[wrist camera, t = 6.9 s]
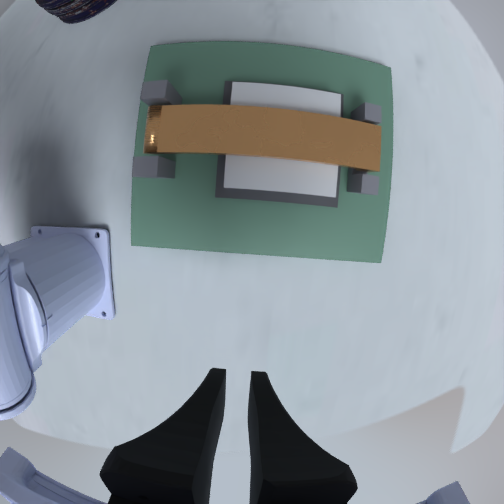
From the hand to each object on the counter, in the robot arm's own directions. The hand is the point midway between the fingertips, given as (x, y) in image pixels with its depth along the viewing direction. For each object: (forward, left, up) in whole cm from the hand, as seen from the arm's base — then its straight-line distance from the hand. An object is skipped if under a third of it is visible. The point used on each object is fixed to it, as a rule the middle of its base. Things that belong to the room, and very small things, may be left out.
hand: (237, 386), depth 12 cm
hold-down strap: (0, +12, -8) cm, 14 cm away
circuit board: (+1, +12, -10) cm, 16 cm away
